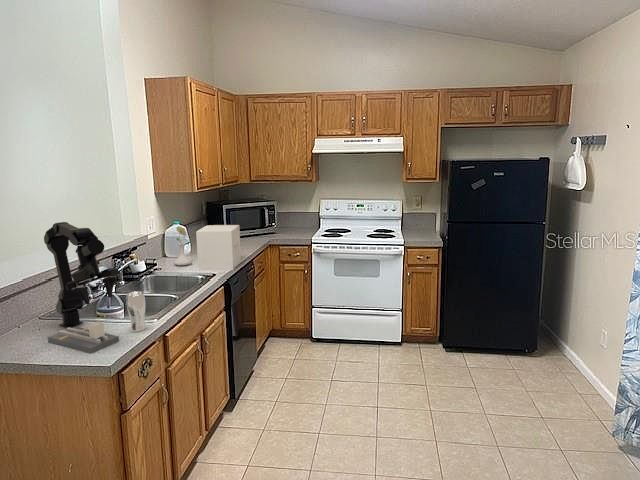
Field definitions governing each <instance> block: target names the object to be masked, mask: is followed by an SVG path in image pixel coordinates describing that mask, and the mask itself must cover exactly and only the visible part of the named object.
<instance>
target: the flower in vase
mask: <svg viewBox="0 0 640 480" xmlns="http://www.w3.org/2000/svg"><path fill="white" fill-rule="evenodd" d="M175 229H176V232H177V233H179V234H178V237H177V238H176V241H178V242H179V243H177V245H178V247H179V250H180V251H179V252H180V254H179V256H178V257H177V258H176V259H175V260H174V261H173V264H174V265H176V266H189V265H190V264H192V263H193V260H192V259H191V258H190V257H188V256H186V254H185V246H186V244H187V243H185V242H182V241H183V240H185V238H183V239H181V240H180V236H182V237H183V236H184V237H186V236H187V231H186V229H185V228H184V227H182V226H180V225H177V226H176V228H175Z"/></svg>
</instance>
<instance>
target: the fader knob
mask: <svg viewBox="0 0 640 480" xmlns="http://www.w3.org/2000/svg"><path fill="white" fill-rule="evenodd" d="M88 329H89V335H90V338H93V339H100V337H102V336H104V335H105V333H106V332H105V326H104V322H102V321H99V320H98V321H95V322H92V323H90V324H88Z"/></svg>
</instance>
